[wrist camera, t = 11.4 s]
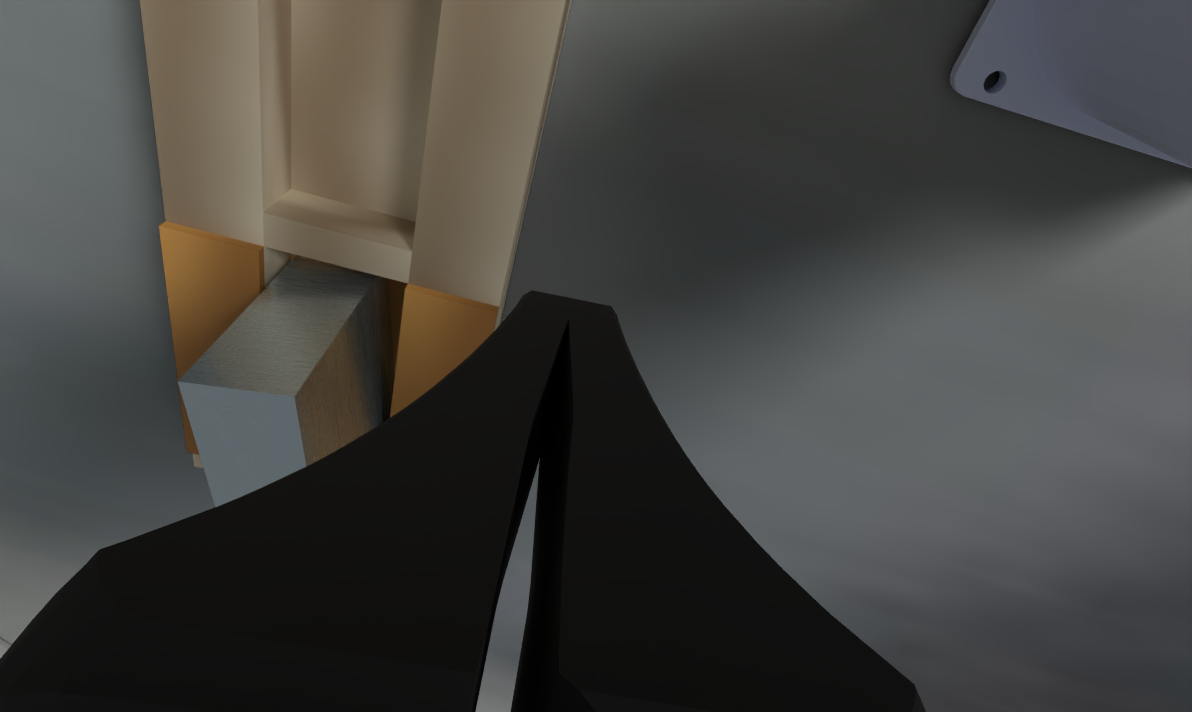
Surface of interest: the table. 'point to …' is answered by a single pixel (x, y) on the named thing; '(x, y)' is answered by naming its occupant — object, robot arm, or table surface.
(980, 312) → the table surface
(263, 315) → the brushed gray metal block
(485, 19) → the rack
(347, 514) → the robot arm
